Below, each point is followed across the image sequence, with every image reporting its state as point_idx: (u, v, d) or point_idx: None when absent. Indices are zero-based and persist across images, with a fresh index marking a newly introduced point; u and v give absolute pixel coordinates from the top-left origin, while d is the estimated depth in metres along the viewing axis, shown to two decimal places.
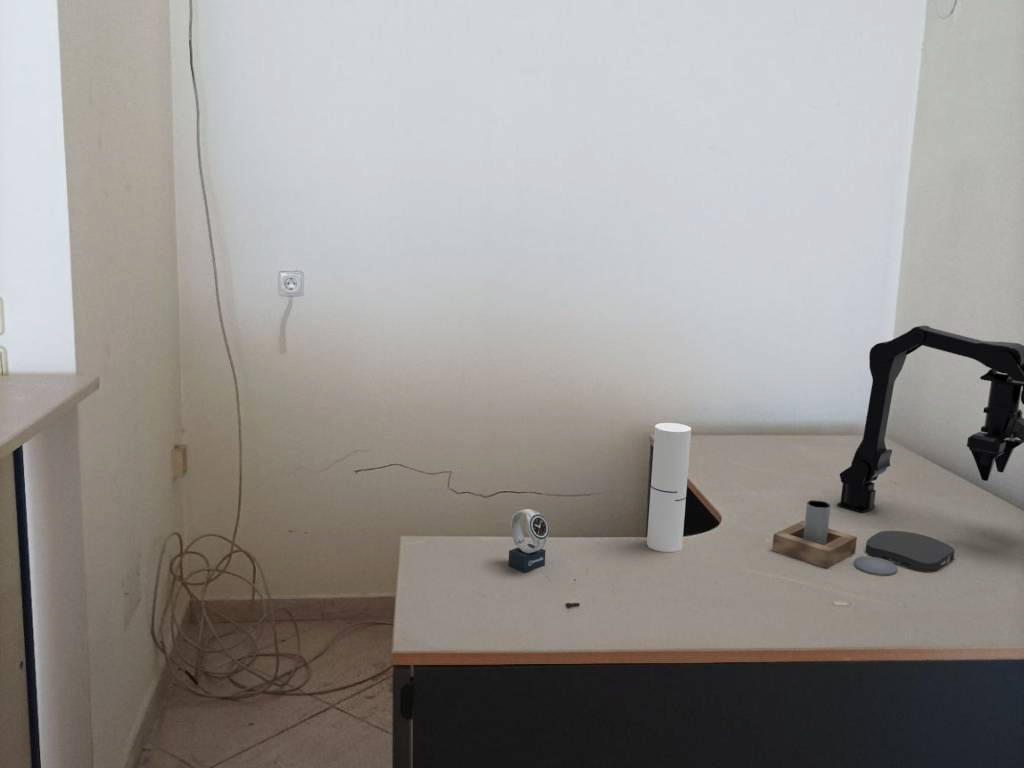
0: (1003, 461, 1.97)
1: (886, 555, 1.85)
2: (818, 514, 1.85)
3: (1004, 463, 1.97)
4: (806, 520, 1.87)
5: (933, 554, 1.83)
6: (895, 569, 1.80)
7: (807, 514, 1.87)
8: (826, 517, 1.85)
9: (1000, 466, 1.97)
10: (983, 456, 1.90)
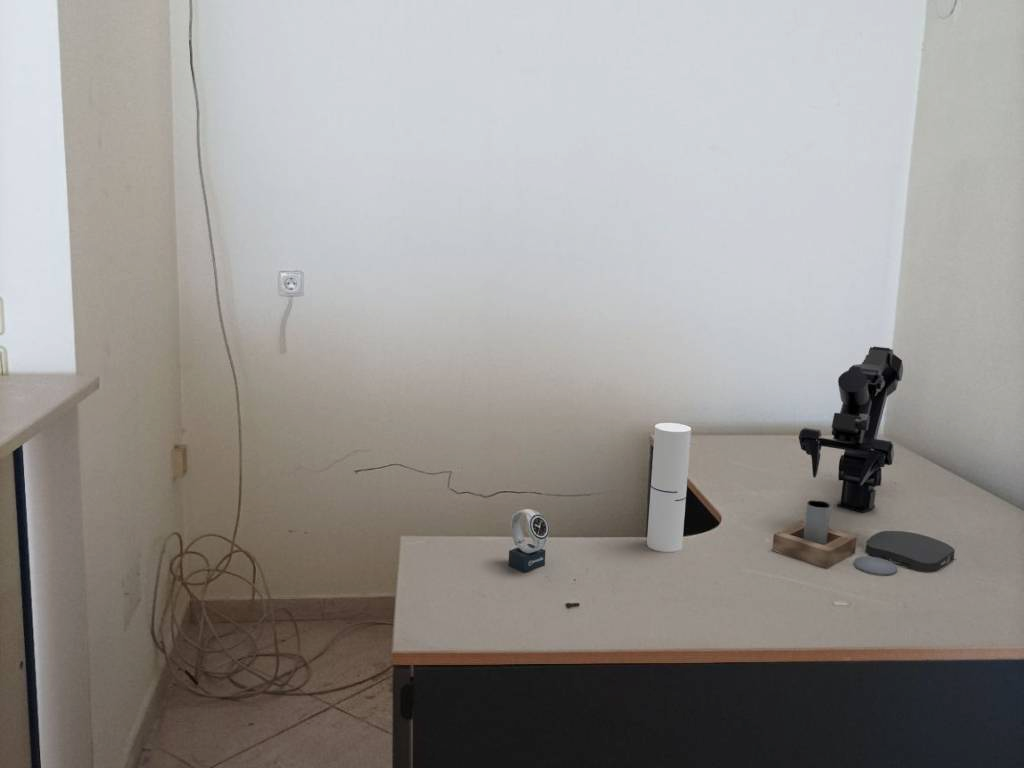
0: None
1: (886, 555, 1.85)
2: (818, 514, 1.85)
3: None
4: (806, 520, 1.87)
5: (933, 554, 1.83)
6: (895, 569, 1.80)
7: (807, 514, 1.87)
8: (826, 517, 1.85)
9: (860, 479, 1.90)
10: None
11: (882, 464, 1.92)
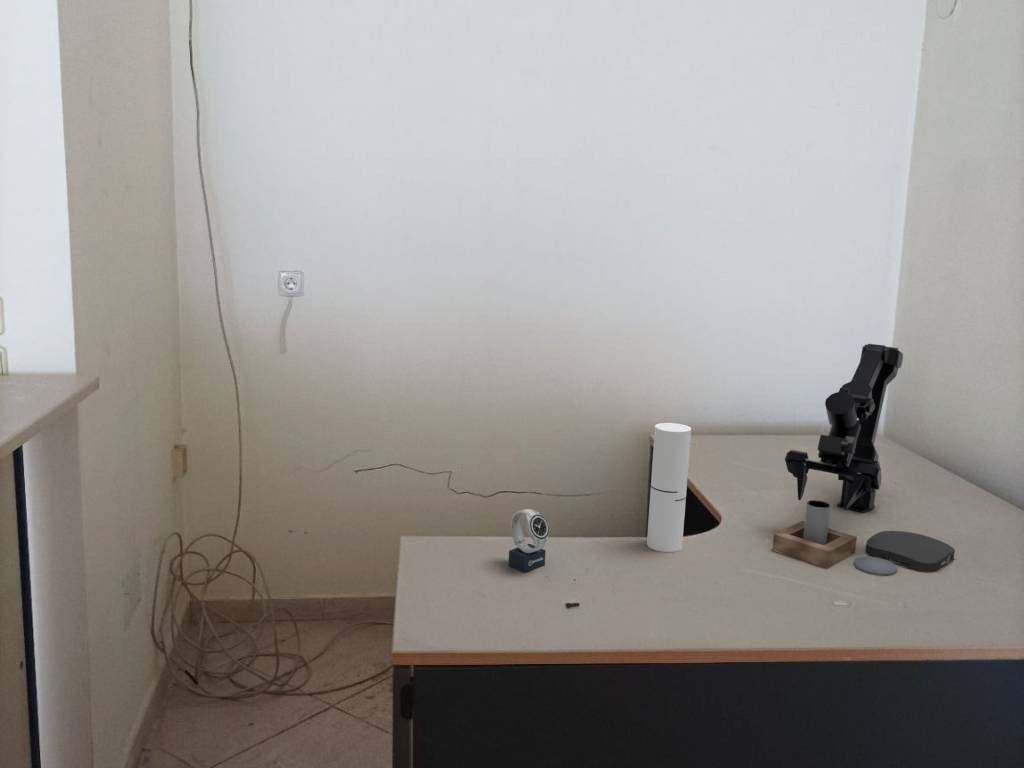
0: None
1: (886, 555, 1.85)
2: (818, 514, 1.85)
3: None
4: (806, 520, 1.87)
5: (933, 554, 1.83)
6: (895, 569, 1.80)
7: (807, 514, 1.87)
8: (826, 517, 1.85)
9: None
10: None
11: (869, 488, 1.88)
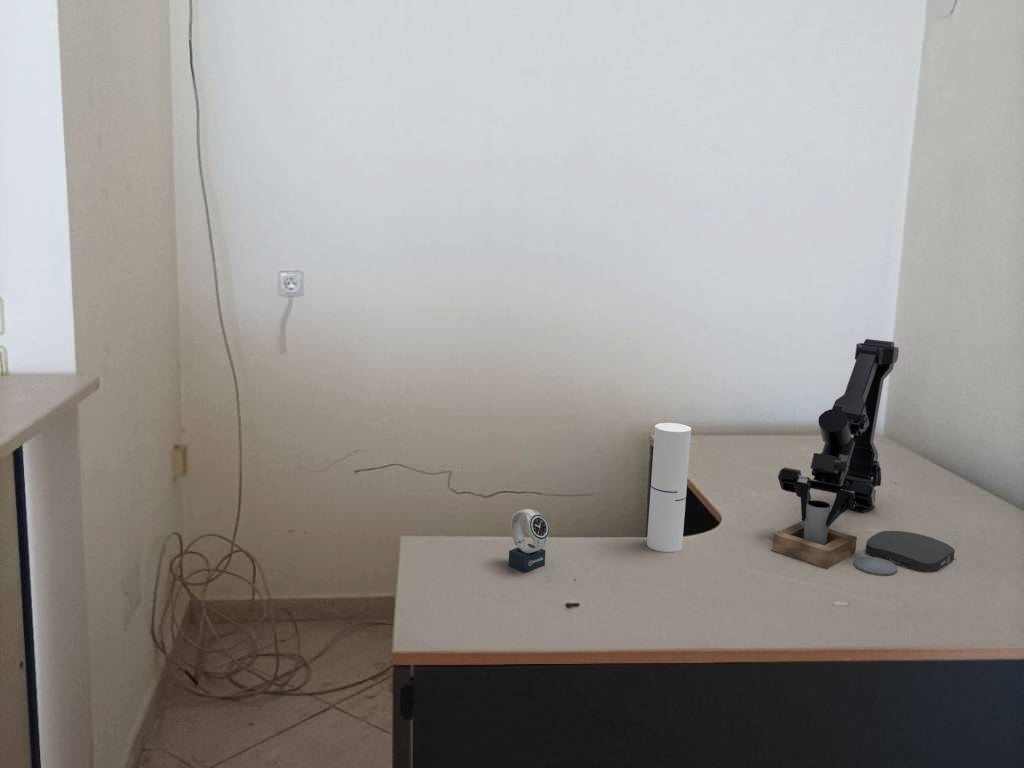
0: None
1: (886, 555, 1.85)
2: (818, 514, 1.85)
3: None
4: (806, 520, 1.87)
5: (933, 554, 1.83)
6: (895, 569, 1.80)
7: (807, 514, 1.87)
8: (826, 517, 1.85)
9: None
10: None
11: (852, 505, 1.87)
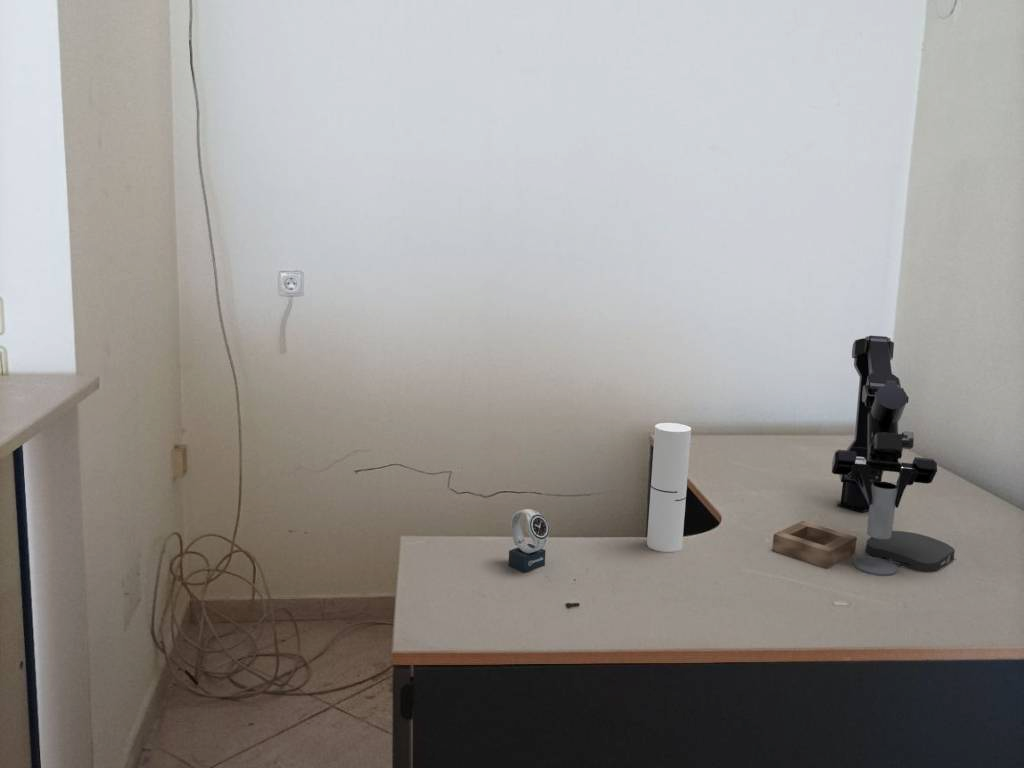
0: None
1: (886, 555, 1.85)
2: (889, 495, 1.76)
3: (896, 495, 1.78)
4: (874, 503, 1.78)
5: (933, 554, 1.83)
6: (895, 569, 1.80)
7: (875, 497, 1.78)
8: (895, 498, 1.77)
9: None
10: (863, 480, 1.82)
11: (911, 482, 1.81)
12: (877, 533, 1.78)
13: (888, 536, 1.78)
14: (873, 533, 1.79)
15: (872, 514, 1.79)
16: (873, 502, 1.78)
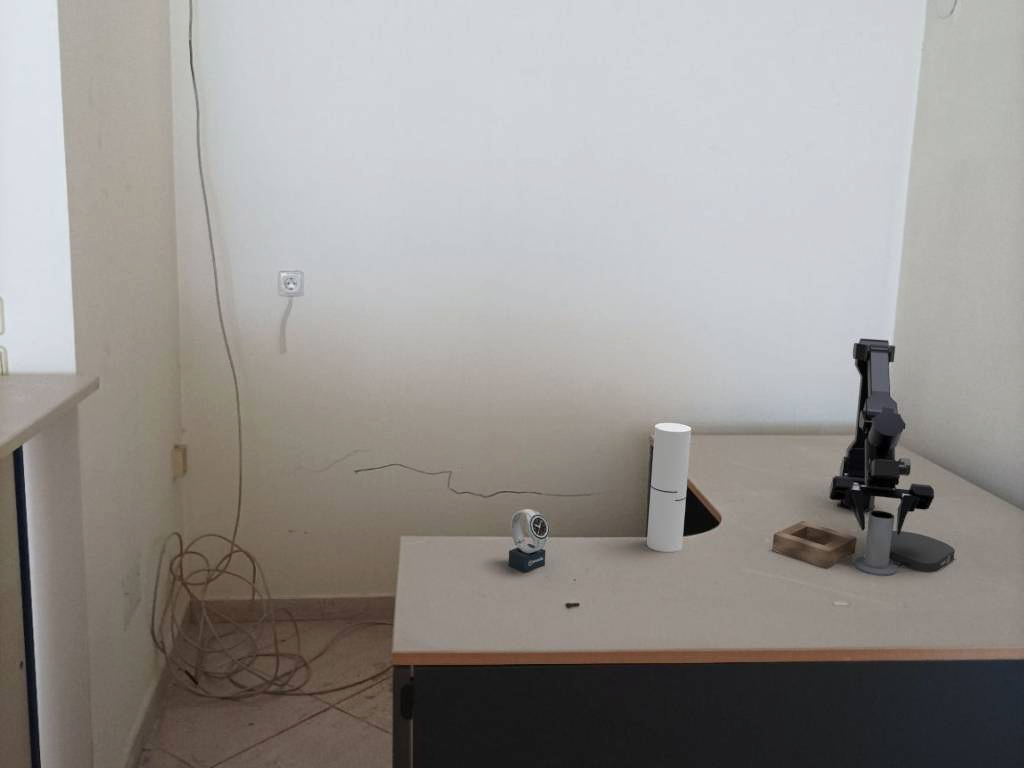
0: (898, 521, 1.79)
1: None
2: (886, 525, 1.78)
3: (898, 522, 1.79)
4: (871, 533, 1.79)
5: (933, 554, 1.83)
6: (895, 569, 1.80)
7: (872, 526, 1.79)
8: (892, 527, 1.79)
9: (897, 527, 1.79)
10: (856, 505, 1.83)
11: (913, 509, 1.82)
12: (874, 562, 1.80)
13: (885, 565, 1.80)
14: (870, 562, 1.80)
15: (869, 543, 1.80)
16: (870, 531, 1.80)
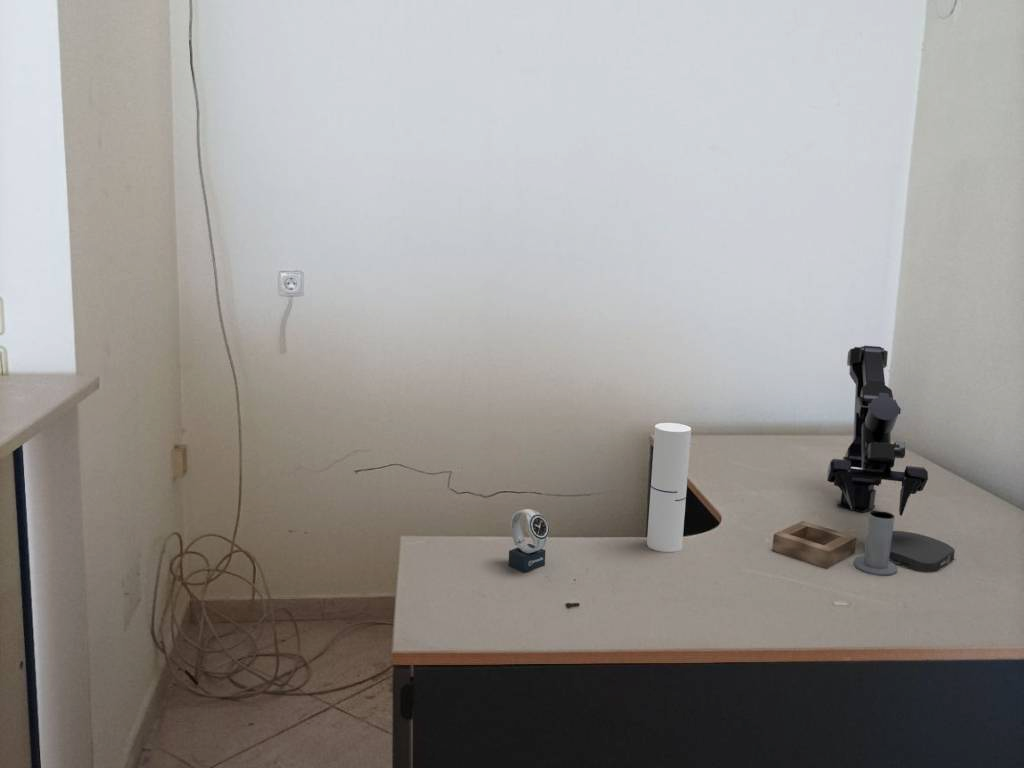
0: (900, 503, 1.86)
1: None
2: (886, 525, 1.78)
3: (900, 504, 1.86)
4: (871, 533, 1.79)
5: (933, 554, 1.83)
6: (895, 569, 1.80)
7: (872, 526, 1.79)
8: (892, 528, 1.79)
9: (900, 509, 1.86)
10: (846, 487, 1.91)
11: (915, 491, 1.89)
12: (874, 562, 1.80)
13: (885, 565, 1.80)
14: (870, 562, 1.80)
15: (869, 543, 1.80)
16: (870, 531, 1.80)
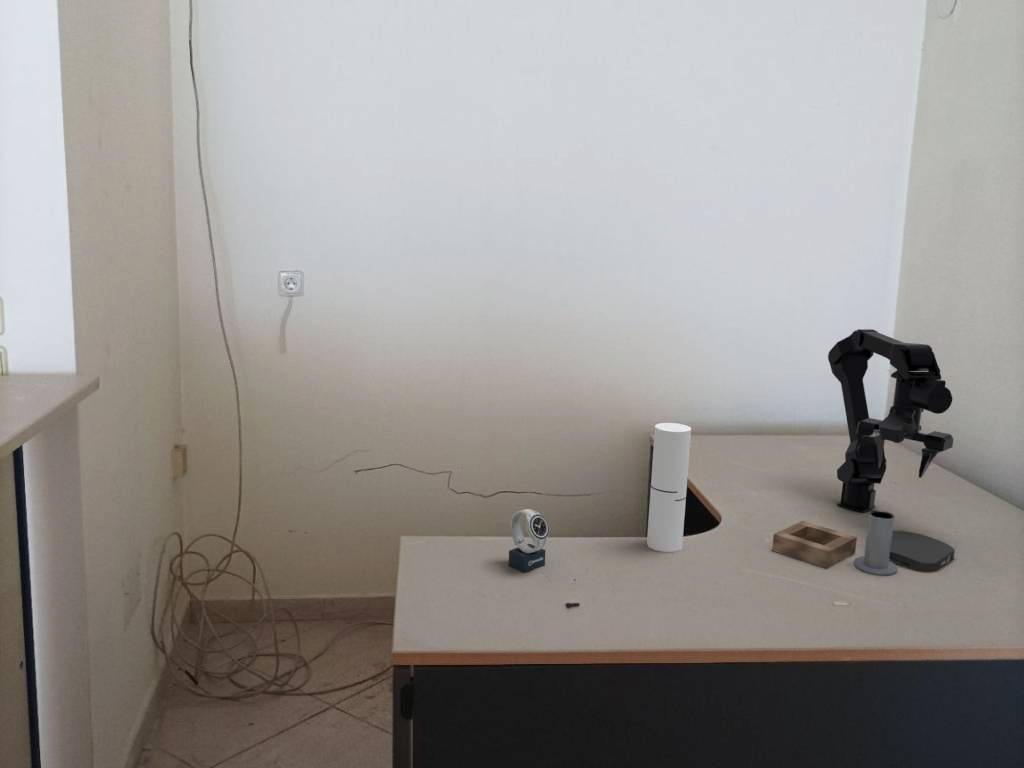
0: None
1: None
2: (886, 525, 1.78)
3: None
4: (871, 533, 1.79)
5: (933, 554, 1.83)
6: (895, 569, 1.80)
7: (872, 526, 1.79)
8: (892, 528, 1.79)
9: None
10: None
11: None
12: (874, 562, 1.80)
13: (885, 565, 1.80)
14: (870, 562, 1.80)
15: (869, 543, 1.80)
16: (870, 531, 1.80)
